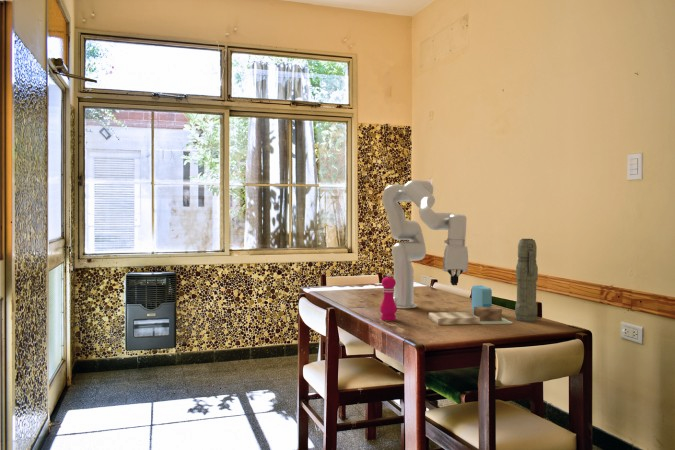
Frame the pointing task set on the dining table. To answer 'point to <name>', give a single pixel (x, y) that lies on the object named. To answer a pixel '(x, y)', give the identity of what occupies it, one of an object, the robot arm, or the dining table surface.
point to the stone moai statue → (526, 281)
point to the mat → (497, 322)
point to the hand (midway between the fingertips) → (454, 284)
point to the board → (454, 318)
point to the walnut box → (488, 313)
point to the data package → (481, 297)
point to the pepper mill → (388, 299)
